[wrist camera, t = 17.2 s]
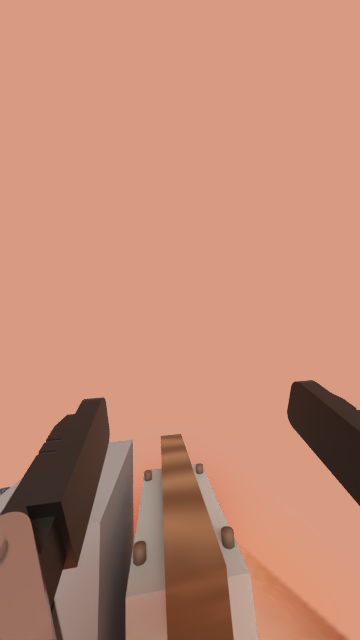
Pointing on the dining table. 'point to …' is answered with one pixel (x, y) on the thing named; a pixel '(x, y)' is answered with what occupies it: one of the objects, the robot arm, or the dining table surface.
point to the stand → (137, 560)
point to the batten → (191, 554)
